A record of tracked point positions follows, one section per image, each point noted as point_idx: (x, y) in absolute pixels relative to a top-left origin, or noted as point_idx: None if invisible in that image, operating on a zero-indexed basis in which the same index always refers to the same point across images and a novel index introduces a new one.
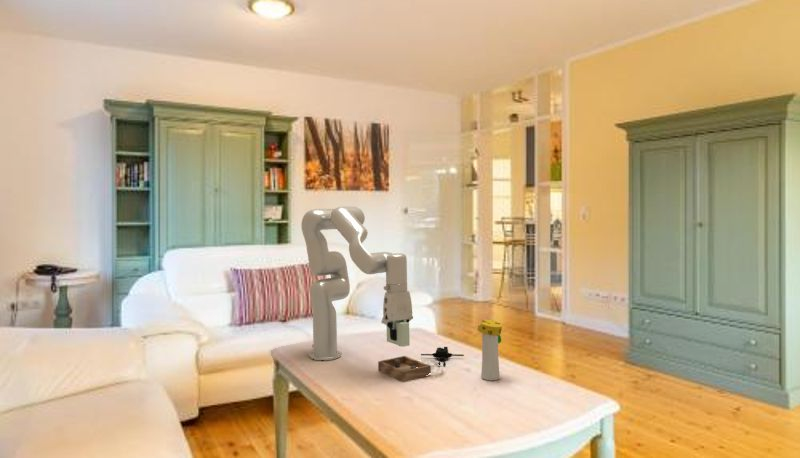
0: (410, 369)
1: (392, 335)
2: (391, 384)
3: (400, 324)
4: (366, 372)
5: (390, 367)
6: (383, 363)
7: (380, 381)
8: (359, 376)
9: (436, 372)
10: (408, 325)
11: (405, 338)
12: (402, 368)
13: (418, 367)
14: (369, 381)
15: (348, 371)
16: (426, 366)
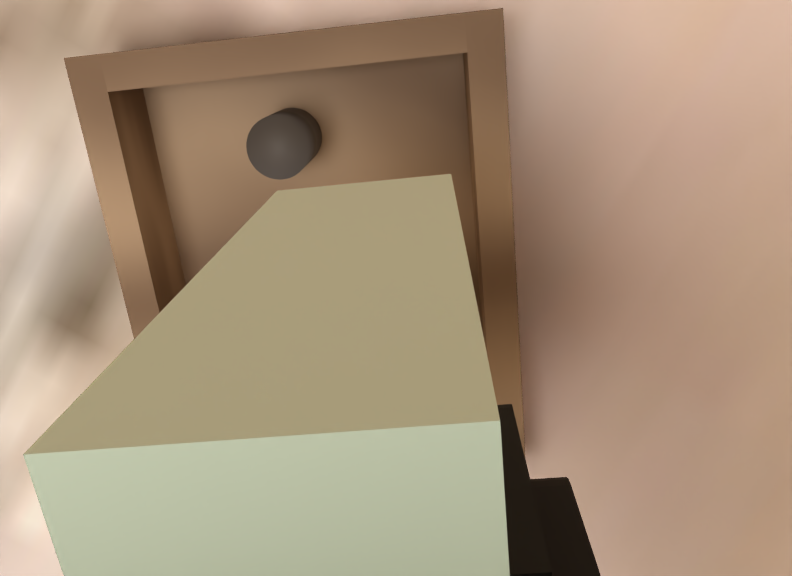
0: (366, 59)
1: (576, 506)
2: (638, 20)
3: (502, 530)
4: (632, 472)
5: (516, 286)
6: (520, 427)
7: (676, 173)
8: (752, 410)
9: (19, 114)
10: (125, 387)
11: (363, 220)
12: None
13: (238, 76)
14: (766, 233)
15: (747, 571)
16: (128, 56)
